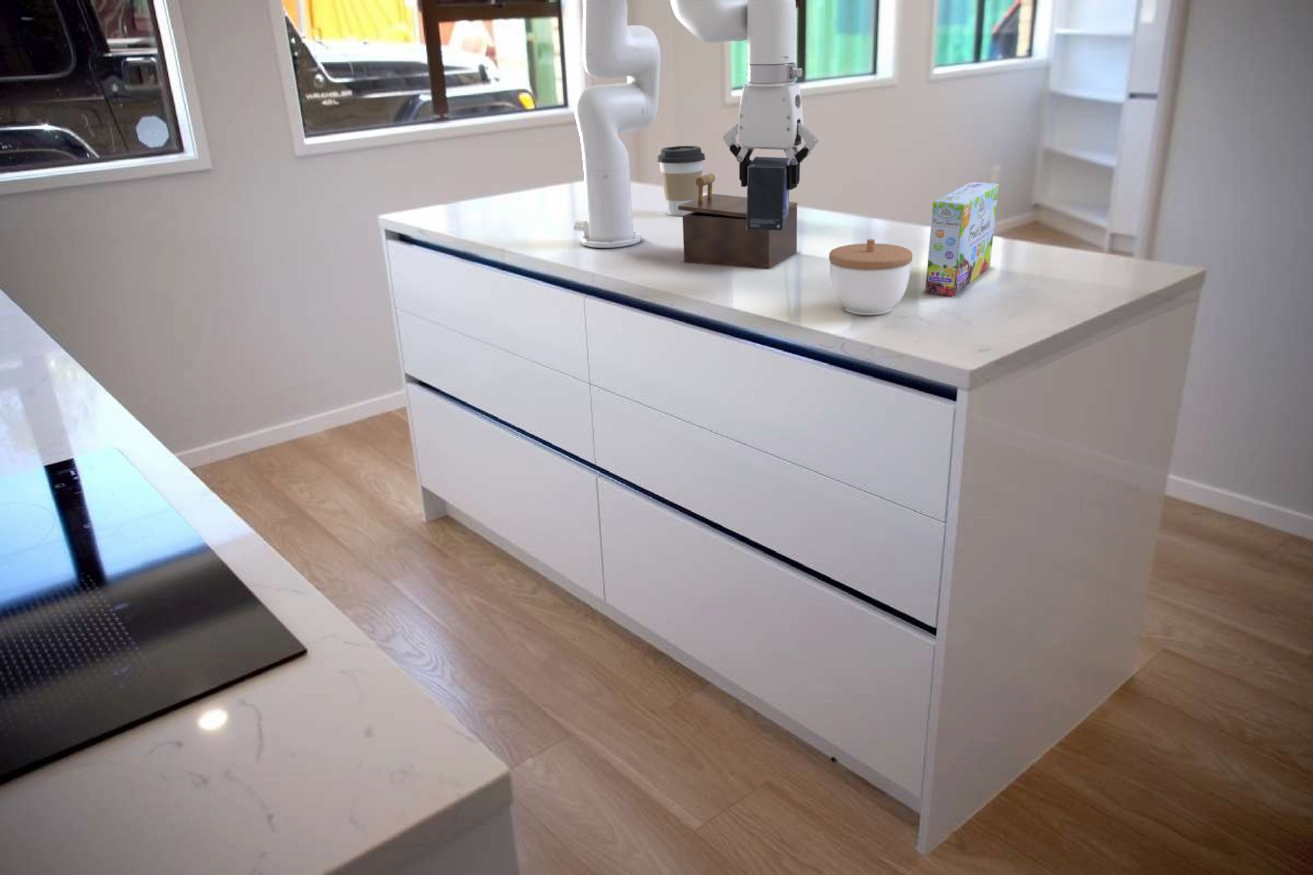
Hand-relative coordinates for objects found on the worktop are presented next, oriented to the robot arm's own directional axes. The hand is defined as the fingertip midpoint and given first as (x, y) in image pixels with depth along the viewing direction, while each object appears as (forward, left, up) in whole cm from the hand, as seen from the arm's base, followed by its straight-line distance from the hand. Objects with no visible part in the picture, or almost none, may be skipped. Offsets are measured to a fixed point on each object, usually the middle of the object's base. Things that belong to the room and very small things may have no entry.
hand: (769, 186), depth 167 cm
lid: (-14, +18, -8) cm, 24 cm away
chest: (-14, +18, -17) cm, 28 cm away
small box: (0, 0, -7) cm, 7 cm away
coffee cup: (-46, +55, -17) cm, 73 cm away
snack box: (+29, +14, -17) cm, 37 cm away
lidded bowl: (+20, -8, -17) cm, 28 cm away
